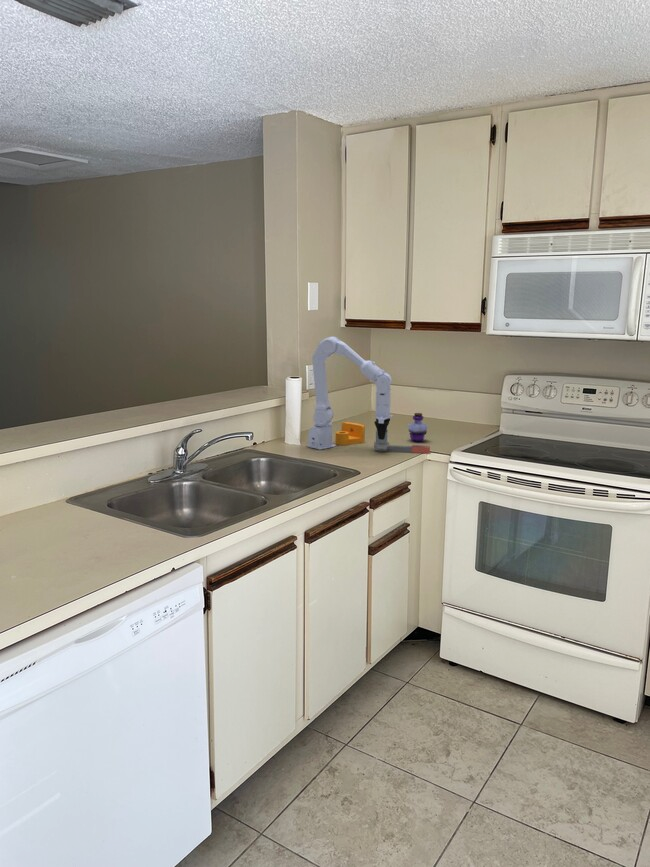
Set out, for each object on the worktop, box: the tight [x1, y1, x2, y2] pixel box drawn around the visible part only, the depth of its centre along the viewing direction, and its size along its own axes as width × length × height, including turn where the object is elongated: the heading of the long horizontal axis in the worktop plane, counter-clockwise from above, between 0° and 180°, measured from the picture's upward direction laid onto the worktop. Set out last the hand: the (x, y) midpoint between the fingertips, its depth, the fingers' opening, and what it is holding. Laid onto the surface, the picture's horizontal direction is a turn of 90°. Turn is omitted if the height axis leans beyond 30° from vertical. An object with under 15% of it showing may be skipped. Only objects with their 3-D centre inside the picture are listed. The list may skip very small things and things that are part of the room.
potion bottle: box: [407, 412, 429, 444], centre depth 280 cm, size 9×9×12 cm
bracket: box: [334, 421, 366, 446], centre depth 277 cm, size 11×7×12 cm
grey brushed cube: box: [375, 429, 389, 444], centre depth 264 cm, size 4×4×5 cm
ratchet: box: [373, 441, 431, 455], centre depth 263 cm, size 22×6×6 cm, turn 81°
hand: (381, 437), depth 264 cm, fingers closed on grey brushed cube, 4 cm apart
